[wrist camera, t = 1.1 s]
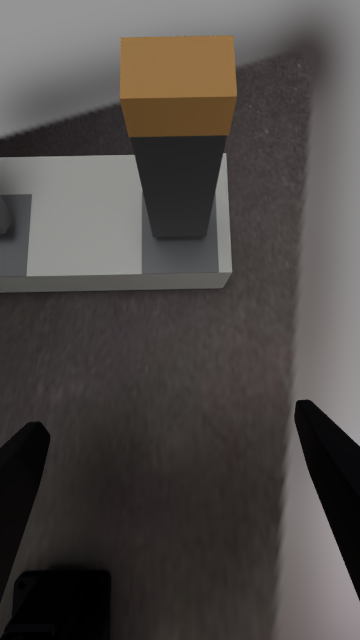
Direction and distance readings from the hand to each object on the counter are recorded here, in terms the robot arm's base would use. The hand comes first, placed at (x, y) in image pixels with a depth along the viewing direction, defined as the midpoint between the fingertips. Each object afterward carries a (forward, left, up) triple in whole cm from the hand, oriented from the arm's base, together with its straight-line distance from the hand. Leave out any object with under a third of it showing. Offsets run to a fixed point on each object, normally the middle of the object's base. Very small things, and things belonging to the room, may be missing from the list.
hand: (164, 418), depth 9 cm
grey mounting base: (+12, +6, -12) cm, 18 cm away
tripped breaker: (+11, -1, -7) cm, 13 cm away
